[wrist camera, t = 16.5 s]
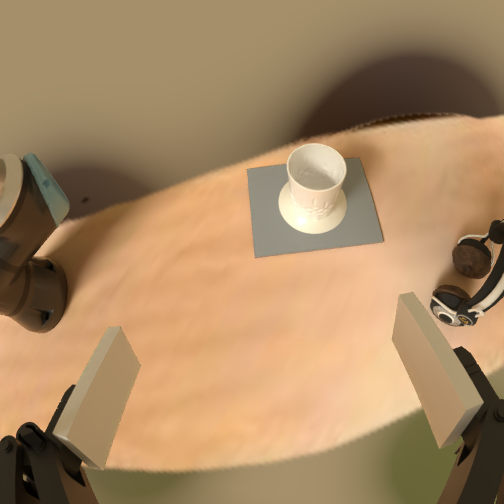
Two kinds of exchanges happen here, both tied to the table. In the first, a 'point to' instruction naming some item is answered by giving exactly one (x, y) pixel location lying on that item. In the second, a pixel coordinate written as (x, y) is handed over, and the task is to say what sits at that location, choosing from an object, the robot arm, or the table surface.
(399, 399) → the table surface
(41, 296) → the robot arm
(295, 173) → the white cup
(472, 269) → the headset
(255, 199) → the card
